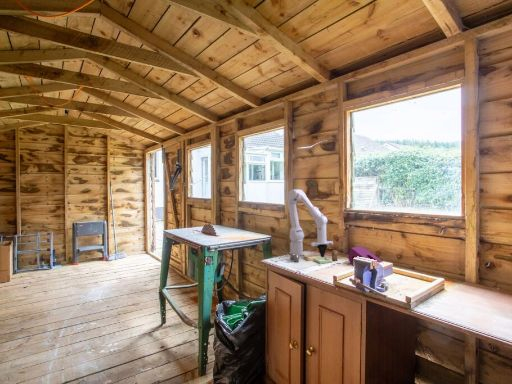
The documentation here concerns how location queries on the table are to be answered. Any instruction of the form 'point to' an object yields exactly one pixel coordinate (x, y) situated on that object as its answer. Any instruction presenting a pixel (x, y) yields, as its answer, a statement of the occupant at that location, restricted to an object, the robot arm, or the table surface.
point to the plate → (311, 257)
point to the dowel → (334, 255)
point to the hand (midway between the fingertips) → (322, 256)
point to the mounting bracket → (361, 254)
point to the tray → (323, 260)
